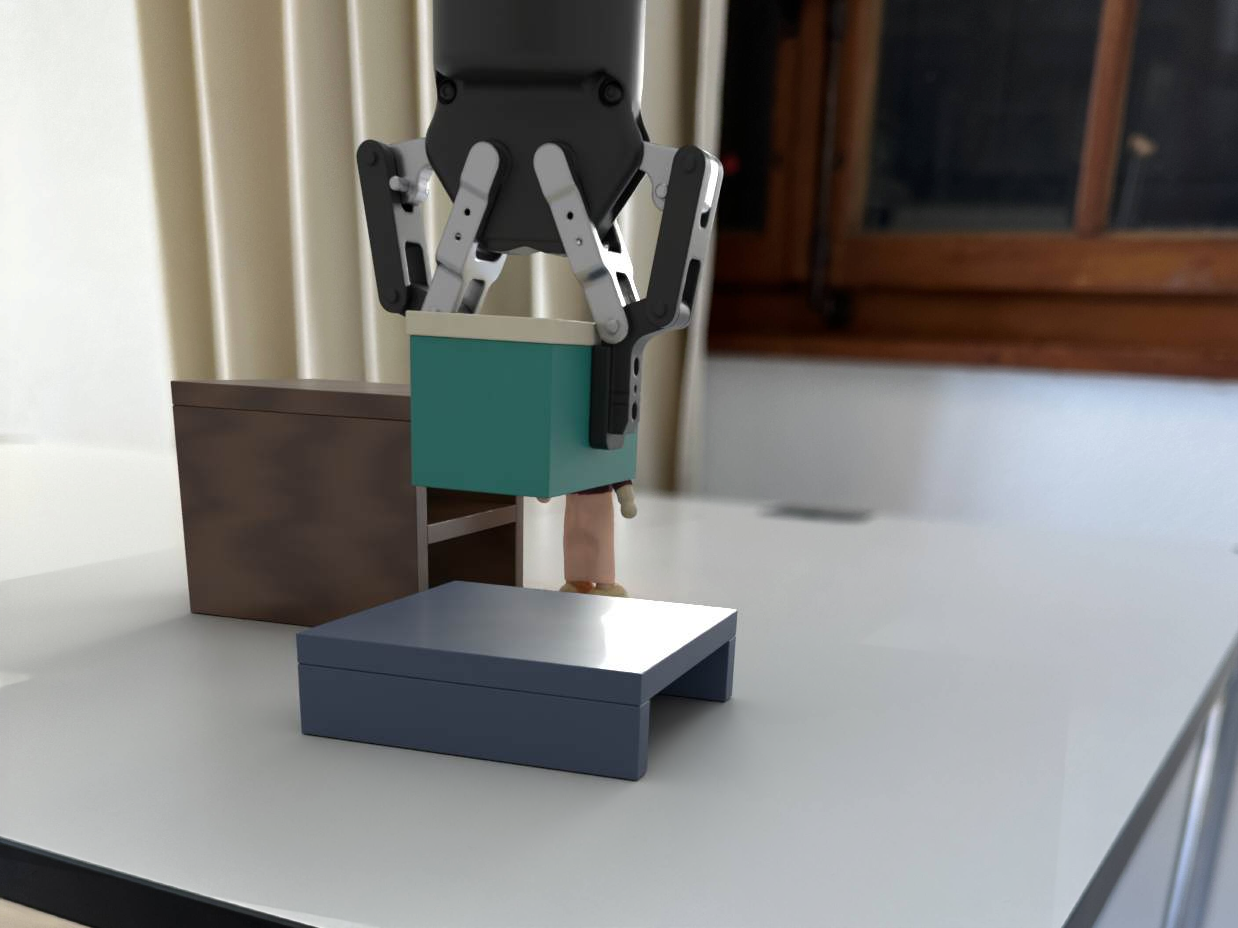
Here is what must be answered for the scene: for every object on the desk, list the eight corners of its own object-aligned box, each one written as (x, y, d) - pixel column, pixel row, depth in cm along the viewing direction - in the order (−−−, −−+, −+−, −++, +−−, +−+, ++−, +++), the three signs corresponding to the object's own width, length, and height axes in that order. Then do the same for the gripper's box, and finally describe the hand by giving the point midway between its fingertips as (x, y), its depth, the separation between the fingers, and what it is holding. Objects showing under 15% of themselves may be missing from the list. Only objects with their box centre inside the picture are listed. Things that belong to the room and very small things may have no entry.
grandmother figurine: (653, 597, 83) (662, 384, 79) (626, 606, 80) (634, 385, 75) (547, 583, 86) (550, 377, 81) (517, 592, 83) (518, 377, 78)
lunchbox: (407, 485, 49) (404, 310, 46) (516, 467, 58) (518, 319, 56) (550, 499, 47) (554, 318, 45) (638, 478, 56) (646, 327, 54)
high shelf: (190, 612, 72) (169, 380, 68) (323, 576, 85) (313, 378, 80) (419, 639, 69) (413, 396, 64) (523, 597, 81) (525, 391, 77)
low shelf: (301, 733, 52) (295, 632, 50) (455, 662, 64) (454, 580, 63) (637, 781, 48) (641, 673, 47) (732, 696, 61) (738, 609, 59)
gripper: (767, -40, 47) (730, 452, 53) (406, -33, 51) (412, 426, 57) (711, -108, 40) (677, 463, 47) (300, -94, 44) (321, 433, 50)
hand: (531, 440), depth 52 cm, fingers closed on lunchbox, 5 cm apart
